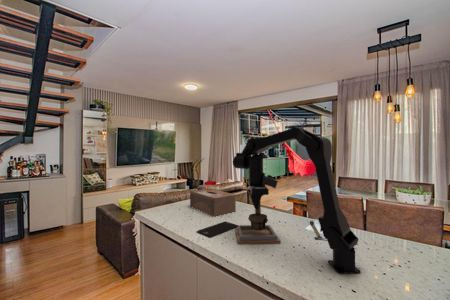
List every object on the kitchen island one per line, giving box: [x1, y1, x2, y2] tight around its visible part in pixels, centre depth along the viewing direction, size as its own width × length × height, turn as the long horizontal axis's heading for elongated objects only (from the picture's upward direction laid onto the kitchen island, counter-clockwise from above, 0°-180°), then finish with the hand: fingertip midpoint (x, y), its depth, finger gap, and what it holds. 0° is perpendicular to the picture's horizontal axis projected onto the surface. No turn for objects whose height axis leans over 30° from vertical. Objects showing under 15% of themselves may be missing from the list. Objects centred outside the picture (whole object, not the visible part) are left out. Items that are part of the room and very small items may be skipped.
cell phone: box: [196, 220, 238, 239], centre depth 97 cm, size 9×18×1 cm, turn 136°
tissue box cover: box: [189, 188, 237, 218], centre depth 129 cm, size 26×14×10 cm, turn 38°
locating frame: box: [236, 224, 278, 240], centre depth 89 cm, size 12×14×2 cm
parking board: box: [234, 228, 282, 245], centre depth 89 cm, size 14×16×1 cm
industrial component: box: [247, 203, 269, 231], centre depth 89 cm, size 9×7×12 cm
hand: (256, 208), depth 88 cm, fingers closed on industrial component, 2 cm apart
